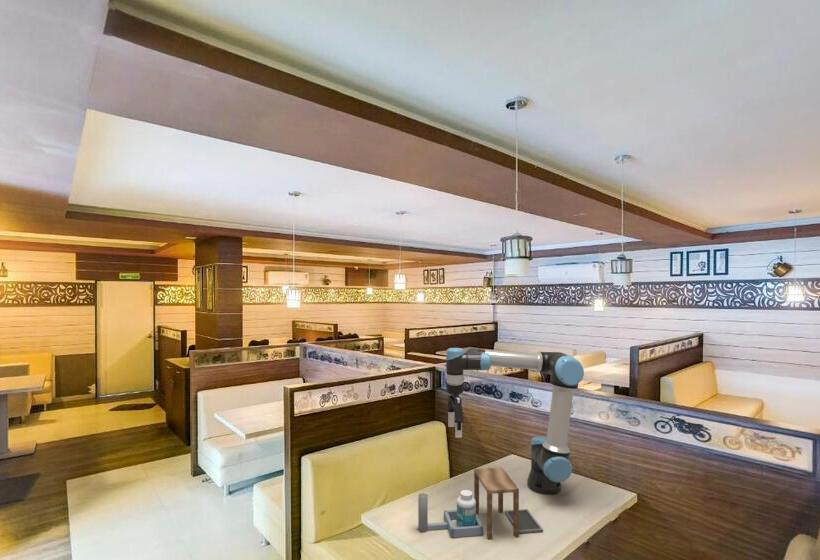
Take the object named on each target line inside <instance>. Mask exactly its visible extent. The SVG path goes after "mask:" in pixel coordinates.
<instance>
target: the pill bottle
mask: <svg viewBox="0 0 820 560" xmlns="http://www.w3.org/2000/svg"><path fill="white" fill-rule="evenodd" d="M456 510H457V519H456V527H467V526H476V501H475V499H474V497H473V492H472V491H471V490H469V489H463V490H461V491H460V495H459V497H458V498H457V499H456Z"/></svg>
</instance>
